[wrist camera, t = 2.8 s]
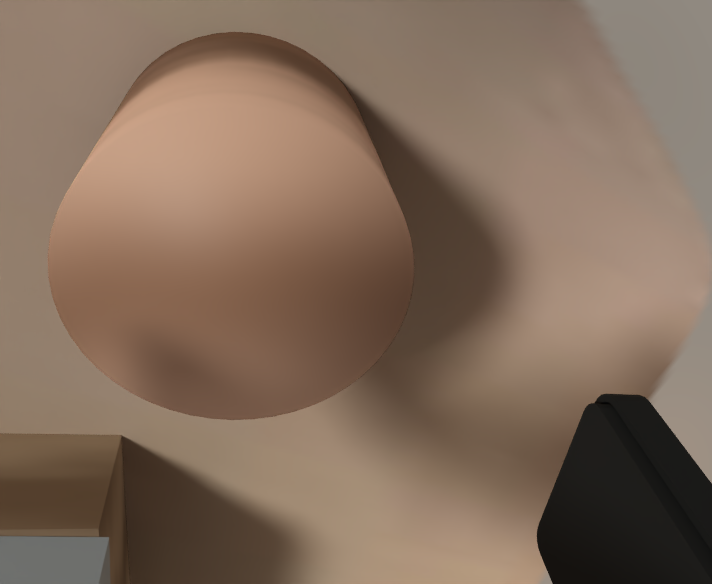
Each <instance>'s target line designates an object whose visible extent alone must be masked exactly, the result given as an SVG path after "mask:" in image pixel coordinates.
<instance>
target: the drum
mask: <svg viewBox="0 0 712 584" xmlns="http://www.w3.org/2000/svg"><path fill="white" fill-rule="evenodd" d="M48 275H49V282H50V287H51V291H52V296H53V300H54V302H55V305H56V308H57V311H58V313H59V316H60V318H61V320H62V322H63V324H64V326H65V327H66V329H67V331H68V333H69V335H70V336H71V338H72V339H73V341H74V342H75V343H76V345H77V346H78V347H79V349H80V350H81V351H82V353H83V354H84V355H85V356H86V357H87V358H88V359H89V360H90V361H91V362H92V363H93V364H94V365H95V366H96V367H97V368H98V369H99V370H100V371H101V372H103V373H104V374H105V375H106V376H108V377H109V378H110V379H111V380H112V381H114V382H115V383H117V384H118V385H120V386H121V387H123V388H125V389H126V390H128V391H129V392H131V393H133V394H135V395H137V396H139V397H141V398H143V399H145V400H147V401H149V402H151V403H153V404H156V405H159V406H161V407H164V408H167V409H169V410H173V411H177V412H181V413H184V414H188V415H193V416H199V417H205V418H212V419H227V420H241V419H257V418H265V417H273V416H277V415H282V414H286V413H290V412H294V411H297V410H300V409H303V408H306V407H309V406H312V405H314V404H316V403H318V402H321V401H323V400H325V399H327V398H329V397H331V396H333V395H335V394H336V393H338V392H340V391H341V390H343V389H345V388H346V387H348V386H349V385H351V384H352V383H353V382H355V381H356V380H357V379H359V378H360V377H361V376H362V375H364V374H365V373H366V372H367V371H368V370H369V369H370V368H371V367H372V366H373V365H374V364H375V363H376V362H377V361H378V360H379V358H380V357H381V356H382V355H383V354H384V352H385V351H386V350H387V349H388V347H389V346H390V344H391V343H392V341H393V339H394V338H395V336H396V335H397V333H398V331H399V329H400V327H401V325H402V323H403V320H404V318H405V316H406V313H407V310H408V306H409V303H410V300H411V296H412V289H413V282H414V254H413V247H412V241H411V236H410V233H409V230H408V227H407V224H406V221H405V218H404V215H403V213H402V210H401V208H400V206H399V203H398V201H397V199H396V196H395V194H394V192H393V189H392V187H391V185H390V182H389V180H388V178H387V175H386V173H385V171H384V168H383V166H382V163H381V161H380V159H379V156H378V154H377V152H376V149H375V147H374V145H373V142H372V140H371V138H370V135H369V133H368V131H367V128H366V126H365V124H364V121H363V119H362V117H361V114H360V112H359V110H358V108H357V106H356V104H355V102H354V100H353V98H352V96H351V95H350V94H349V92H348V91H347V89H346V88H345V86H344V85H343V83H342V82H341V81H340V80H339V79H338V78H337V77H336V75H335V74H334V73H333V72H332V71H331V70H330V69H329V68H327V67H326V66H325V65H324V64H323V63H322V62H321V61H319V60H318V59H317V58H315V57H313V56H312V55H310V54H309V53H307V52H306V51H304V50H303V49H301V48H298V47H296V46H294V45H292V44H290V43H288V42H285V41H282V40H279V39H276V38H273V37H270V36H265V35H260V34H255V33H243V32H228V33H216V34H211V35H207V36H202V37H198V38H195V39H192V40H190V41H187V42H185V43H182V44H180V45H178V46H176V47H174V48H173V49H171V50H169V51H167V52H165V53H164V54H163V55H161V56H160V57H159V58H158V59H156V60H155V61H154V62H152V63H151V64H150V65H149V66H148V67H147V68H146V69H145V70H144V71H143V72H142V73H141V75H140V76H139V77H138V78H137V80H136V81H135V82H134V84H133V85H132V87H131V88H130V90H129V91H128V93H127V94H126V96H125V98H124V99H123V101H122V103H121V104H120V106H119V108H118V109H117V111H116V112H115V114H114V116H113V117H112V119H111V121H110V122H109V124H108V126H107V127H106V129H105V130H104V132H103V134H102V135H101V137H100V139H99V140H98V142H97V144H96V145H95V147H94V149H93V150H92V152H91V153H90V155H89V157H88V158H87V160H86V162H85V163H84V165H83V167H82V168H81V170H80V171H79V173H78V175H77V176H76V178H75V180H74V181H73V183H72V185H71V186H70V188H69V189H68V191H67V193H66V195H65V197H64V199H63V201H62V203H61V205H60V207H59V209H58V211H57V213H56V217H55V220H54V224H53V227H52V230H51V234H50V241H49V249H48Z"/></svg>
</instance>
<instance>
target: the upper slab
mask: <svg viewBox="0 0 712 584" xmlns="http://www.w3.org/2000/svg"><path fill="white" fill-rule="evenodd" d="M0 584H110V549H109V537H38V536H0Z"/></svg>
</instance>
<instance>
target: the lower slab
mask: <svg viewBox="0 0 712 584" xmlns="http://www.w3.org/2000/svg"><path fill="white" fill-rule="evenodd" d="M0 536H38V537H109V549H110V584H130V572H129V555H128V539H127V522H126V505H125V488H124V471H123V454H122V438H121V435H70V434H1V433H0Z"/></svg>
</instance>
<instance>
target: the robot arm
mask: <svg viewBox="0 0 712 584" xmlns="http://www.w3.org/2000/svg"><path fill="white" fill-rule="evenodd" d="M537 543H538V548H539V551H540V554H541V556H542V559H543V561H544V564H545V566H546V569H547V571H548V573H549V576H550V578H551V581H552V583H553V584H712V483H711V482H710V481H709V480H708V478H707V477H706V476H705V474H704V473H703V472H702V470H701V469H700V468H699V466H698V465H697V464H696V462H695V461H694V460H693V459H692V457H691V456H690V454H689V453H688V452H687V450H686V449H685V448H684V446H683V445H682V444H681V443H680V441H679V440H678V439H677V437H676V436H675V435H674V433H673V432H672V431H671V429H670V428H669V427H668V425H667V424H666V423H665V421H664V420H663V419H662V417H661V416H660V415H659V413H658V412H657V411H656V410H655V408H654V407H653V406H652V404H651V403H650V402H649V401H648V400H647V399H646V398H645V397H643V396H640V395H623V394H603V395H601V396H600V397H598V398H597V400H596V402H595V403H592V404H589V405H588V406H587V407H586V408H585V410H584V412H583V415H582V417H581V420H580V422H579V425H578V427H577V430H576V432H575V435H574V437H573V440H572V442H571V445H570V447H569V450H568V453H567V455H566V458H565V460H564V463H563V465H562V468H561V470H560V473H559V475H558V478H557V480H556V483H555V485H554V488H553V490H552V493H551V495H550V498H549V500H548V503H547V505H546V508H545V510H544V513H543V515H542V518H541V520H540V523H539V526H538V529H537Z"/></svg>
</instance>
